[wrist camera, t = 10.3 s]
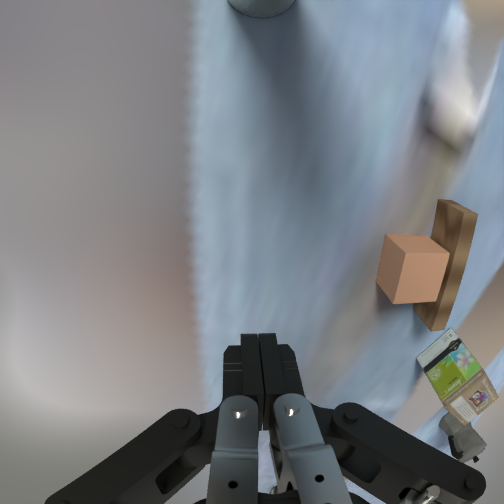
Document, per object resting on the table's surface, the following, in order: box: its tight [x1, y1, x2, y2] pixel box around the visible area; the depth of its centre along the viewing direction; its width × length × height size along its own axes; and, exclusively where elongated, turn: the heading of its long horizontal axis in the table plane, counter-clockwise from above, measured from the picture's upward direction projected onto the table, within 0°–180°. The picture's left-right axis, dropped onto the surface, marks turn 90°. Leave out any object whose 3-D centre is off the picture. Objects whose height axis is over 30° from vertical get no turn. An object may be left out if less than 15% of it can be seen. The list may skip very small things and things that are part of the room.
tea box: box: [417, 328, 498, 426], centre depth 51 cm, size 15×10×15 cm
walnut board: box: [413, 199, 478, 332], centre depth 45 cm, size 20×3×7 cm, turn 179°
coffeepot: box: [439, 412, 487, 463], centre depth 61 cm, size 15×9×18 cm, turn 70°
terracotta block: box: [376, 234, 450, 304], centre depth 45 cm, size 8×8×7 cm
